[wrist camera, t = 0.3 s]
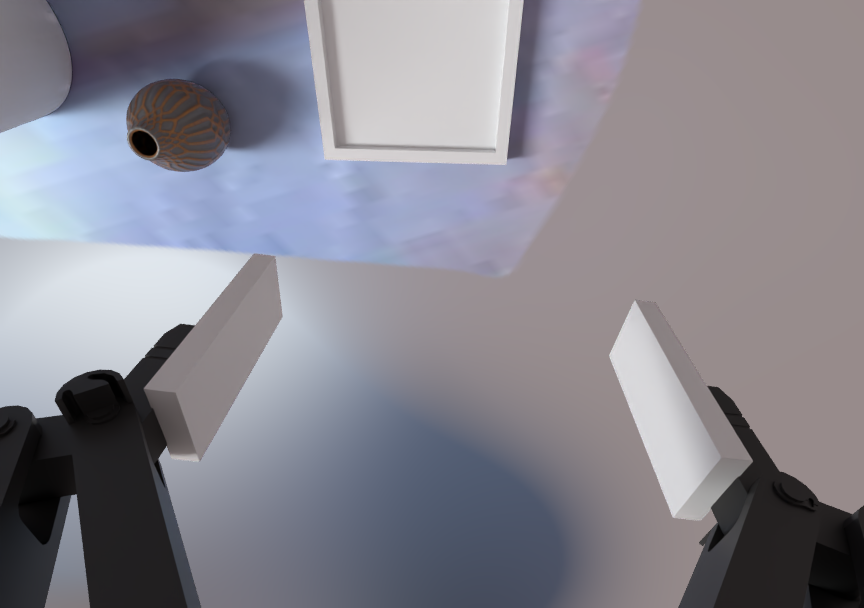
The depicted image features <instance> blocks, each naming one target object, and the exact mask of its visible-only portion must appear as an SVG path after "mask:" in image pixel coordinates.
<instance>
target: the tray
mask: <svg viewBox="0 0 864 608" xmlns="http://www.w3.org/2000/svg"><path fill="white" fill-rule="evenodd" d="M523 2H524V0H304V4H305V12H306V19H307V27H308V35H309V42H310V50H311V58H312V65H313V73H314V80H315V88H316V96H317V103H318V111H319V119H320V126H321V134H322V141H323V149H324V157H325V160H354V161H388V162H423V163H458V164H493V165H506V162H507V152H508V143H509V134H510V124H511V115H512V105H513V96H514V87H515V77H516V68H517V58H518V49H519V40H520V30H521V21H522V12H523Z"/></svg>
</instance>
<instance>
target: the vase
mask: <svg viewBox="0 0 864 608" xmlns="http://www.w3.org/2000/svg"><path fill="white" fill-rule="evenodd" d="M126 123H127V129H128V133H127V141H128V144H129V146H130V148H131V149H132V151H133V152H134V153H135V154H136V155H138V156H139V157H141V158H143V159H146V160H149V161H151V162H152V163H154V164H156V165H158V166H160V167H162V168H165V169H168V170H172V171H179V172H188V171H196V170H200V169H203V168H205V167H207V166H209V165H211V164H212V163H214V162H215V161H216V160H217V159H219V158H220V157H221V156H222V154H223V153H224V151H225V150H226V148H227V146H228V143H229V139H230V122H229V118H228V115H227V113H226V111H225V109H224V107H223V105H222V104H221V103H220V101H219V100H218V99H217V98H216V97H215V96H214V95H213V94H212V93H211V92H209V91H208V90H207V89H205V88H203V87H202V86H200V85H198V84H196V83H193V82H190V81H186V80H180V79H166V80H160V81H156V82H153V83H151V84H149V85H147V86H145V87H144V88H142V89H141V90H140V91H139V92H138V93H137V94H136V95H135V96H134V98H133V99H132V101H131V102H130V104H129V107H128V110H127V117H126Z"/></svg>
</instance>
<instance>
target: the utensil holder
mask: <svg viewBox="0 0 864 608" xmlns="http://www.w3.org/2000/svg"><path fill="white" fill-rule="evenodd" d="M71 80H72V63H71V56H70V52H69V48H68V44H67V40H66V38H65V35H64V33H63V30H62V28H61V26H60V24H59V22H58V20H57V18H56V16H55V14H54V12H53V11H52V9H51V7H50V6H49V4H48V2H47V1H46V0H0V133H1V132H4V131H7V130H9V129H12V128H14V127H17V126H20V125H22V124H25V123H28V122H31V121H34V120H36V119H39V118H41V117H44V116H46V115H48V114H50V113H52V112H53V111H55V110H56V109H57V108H58V107H60V105H61V104H62V103H63V102H64V101H65V99H66V97H67V95H68V93H69V90H70V86H71Z"/></svg>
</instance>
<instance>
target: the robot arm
mask: <svg viewBox="0 0 864 608" xmlns="http://www.w3.org/2000/svg"><path fill="white" fill-rule="evenodd" d="M281 318H282V309H281V300H280V292H279V284H278V276H277V267H276V259H275V256H270V255H262V254H253V255H252V257H251V258H250V259H249V260H248V262H247V263H246V264H245V265H244V266H243V268H242V269H241V270H240V271H239V273H238V274H237V275H236V276H235V277H234V279H233V280H232V281H231V282H230V284H229V285H228V286H227V287H226V288H225V290H224V291H223V292H222V293H221V295H220V296H219V297H218V298H217V300H216V301H215V302H214V303H213V304H212V306H211V307H210V308H209V310H208V311H207V312H206V313H205V314H204V315H203V317H202V318H201V319H200V320H199V322H198V323H197V324H196V325H186V324H180V325H178V326H176V327H175V328H173V329H171V330H170V331H168V332H166V333H165V334H164V335H163V336H162V337H161V338H160V339H159V340H158V342H157V343H156V344H155V345H154V348H152V349H151V350H150V351H149V352H148V353H147V354H146V355H145V358H143V359H142V360H141V361H140V362H139V363H138V364H137V365H136V366H135V368H134V369H133V370H132V371H131V372H130V373H129V375H127V377H126V378H125V379H123V378H122V376H121V375H120V374H119V373H117V372H115V371H112V370H96V371H91V372H87V373H84V374H82V375H79V376H77V377H74V378H73V379H71V380H70V381H68V382H67V383H65V384H64V385H63V387H61V389H60V390H59V391H58V392H57V394H56V398H55V402H56V404H57V405H58V407H59V409H60V411H61V412H62V414H63V415H60V416H52V417H45V418H35V417H34V415H33V413H32V412H31V411H30V410H29V409H28V408H26V407H21V406H7V407H2V408H0V608H44V607H45V603H46V599H47V595H48V590H49V586H50V582H51V578H52V574H53V569H54V565H55V561H56V557H57V553H58V549H59V544H60V540H61V536H62V532H63V528H64V523H65V519H66V515H67V511H68V507H69V502H70V498H71V495H75V494H77V500H78V508H79V516H80V525H81V534H82V542H83V551H84V559H85V568H86V576H87V585H88V593H89V602H90V608H201V605H200V601H199V598H198V595H197V591H196V587H195V584H194V580H193V577H192V573H191V570H190V566H189V563H188V559H187V556H186V552H185V548H184V545H183V541H182V538H181V534H180V531H179V527H178V524H177V520H176V518H175V513H174V510H173V506H172V503H171V500H170V495H169V492H168V488H167V485H166V481H165V478H164V474H163V471H162V467H161V464H160V462H159V459H158V458H159V457H160V455H161V453H162V452H163V450H164V449H165V448H166V446H167V448H168V450H169V453H170V455H171V458H172V459H178V460H187V461H196V462H200V461H201V459H202V457H203V455H204V454H205V452H206V450H207V448H208V447H209V445H210V443H211V441H212V440H213V438H214V436H215V434H216V433H217V431H218V429H219V427H220V425H221V424H222V422H223V420H224V418H225V417H226V415H227V413H228V411H229V410H230V408H231V406H232V404H233V402H234V401H235V399H236V397H237V396H238V394H239V392H240V390H241V389H242V387H243V385H244V383H245V382H246V380H247V378H248V376H249V375H250V373H251V371H252V369H253V367H254V366H255V364H256V362H257V360H258V359H259V357H260V355H261V353H262V352H263V350H264V348H265V346H266V345H267V343H268V341H269V339H270V338H271V336H272V334H273V332H274V331H275V329H276V327H277V325H278V323H279V322H280V320H281ZM609 357H610V359H611V361H612V364H613V367H614V369H615V371H616V374H617V377H618V379H619V382H620V384H621V387H622V389H623V392H624V394H625V397H626V399H627V402H628V405H629V407H630V410H631V412H632V415H633V417H634V420H635V422H636V425H637V427H638V430H639V433H640V435H641V438H642V440H643V443H644V445H645V448H646V450H647V453H648V455H649V458H650V460H651V463H652V465H653V468H654V471H655V473H656V476H657V478H658V481H659V483H660V486H661V488H662V491H663V493H664V496H665V498H666V501H667V503H668V506H669V508H670V511H671V514H672V516H673V518H680V519H689V520H697V521H701V519H703V517H704V516H705V515H706V514H707V513H708V512H709V511H710V510H711V509H712V511H713V514H714V516H715V518H716V520H717V522H718V523H717V524H716V525H715V526H714V527H713V528H712V529H711V530H710V531H709V532H708V534H706V536H705V537H704V538H703V539H702V540H701V541H700V542H699V543H700V544H701V545H702V546H703V545H704V544H705V546H704V548H703V551H702V553H701V556H700V558H699V560H698V562H697V565H696V567H695V569H694V572H693V574H692V577H691V579H690V581H689V584H688V586H687V588H686V591H685V593H684V596H683V598H682V600H681V603H680V605H679V607H678V608H864V506H863V507H861V508H860V509H859V510H857V511H856V512H855V513H854V514H850V513H848V512H845V511H842V510H840V509H837V508H834V507H832V506H829V505H826V504H824V503H821V502H819V501H818V499H817V497H816V496H815V494H814V493H813V492H812V491H811V490H810V489H809V488H808V487H807V486H806V485H804V484H803V483H801V482H800V481H799V480H797V479H796V478H794V477H792V476H790V475H788V474H786V473H784V472H779V470H778V469H777V467H776V466H775V464H774V462H773V461H772V459H771V458H770V456H769V455H768V453H767V452H766V450H765V449H764V447H763V446H762V444H761V443H760V441H759V440H758V438H757V437H756V435H755V434H754V432H753V430H752V429H750V428H749V427H750V426H749V424H748V423H747V421H746V420H745V418H743V417H742V414H741V412H740V411H739V409H738V408H737V406H736V405H735V403H734V401H733V400H732V399H731V398H730V397H728V396H727V395H726V394H725V393H724V392H723V391H722V390H721V389H720V388H718V387H712V386H707V385H706V383H705V382H704V380H703V379H702V377H701V375H700V374H699V372H698V371H697V369H696V367H695V366H694V364H693V362H692V361H691V359H690V357H689V356H688V354H687V353H686V351H685V349H684V348H683V346H682V344H681V343H680V341H679V340H678V338H677V336H676V335H675V333H674V331H673V330H672V328H671V326H670V325H669V323H668V322H667V320H666V318H665V317H664V315H663V313H662V312H661V310H660V309H659V307H658V305H657V304H656V302H649V301H641V300H635V301H634V303H633V305H632V307H631V309H630V311H629V313H628V316H627V318H626V320H625V322H624V324H623V327H622V329H621V331H620V333H619V335H618V338H617V340H616V342H615V344H614V347H613V349H612V351H611V353H610V355H609Z"/></svg>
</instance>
